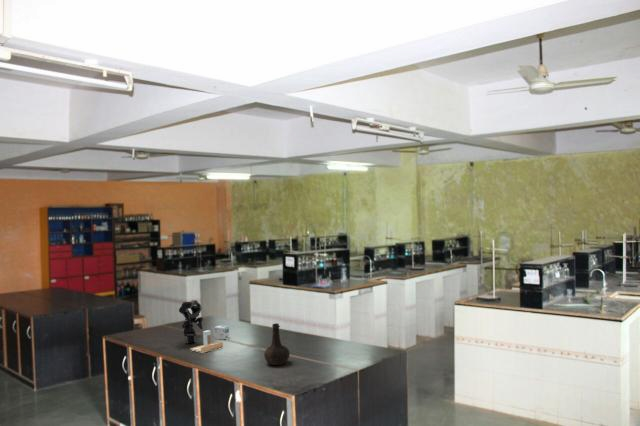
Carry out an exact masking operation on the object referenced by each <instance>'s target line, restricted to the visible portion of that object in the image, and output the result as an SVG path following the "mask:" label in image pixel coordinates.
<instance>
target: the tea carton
mask: <svg viewBox="0 0 640 426" xmlns="http://www.w3.org/2000/svg"><path fill="white" fill-rule="evenodd" d="M202 336H203V337H202V338H203V341H202V342H203V345H204V347H205V346H208V345H211V343H212V330H209V329H207V330H203V331H202Z"/></svg>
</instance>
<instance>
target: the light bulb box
mask: <svg viewBox="0 0 640 426" xmlns="http://www.w3.org/2000/svg"><path fill="white" fill-rule="evenodd" d="M214 338H219V339H226V340H228V339H227V338H229V339H230V326H229V325H217V326H215V327H214Z"/></svg>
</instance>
